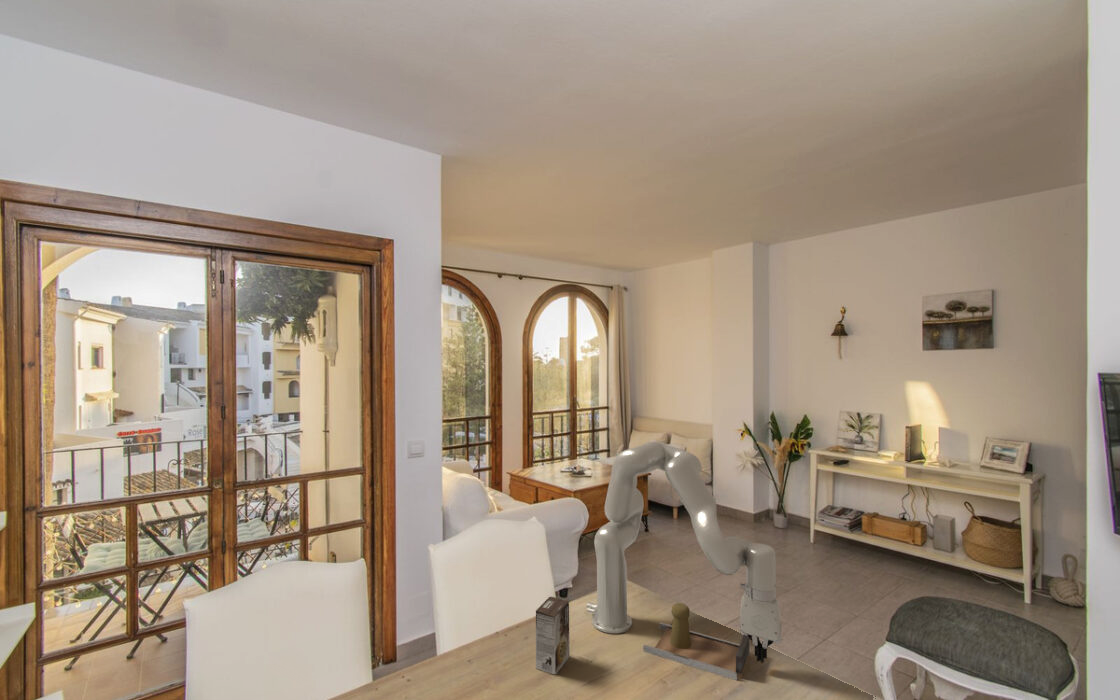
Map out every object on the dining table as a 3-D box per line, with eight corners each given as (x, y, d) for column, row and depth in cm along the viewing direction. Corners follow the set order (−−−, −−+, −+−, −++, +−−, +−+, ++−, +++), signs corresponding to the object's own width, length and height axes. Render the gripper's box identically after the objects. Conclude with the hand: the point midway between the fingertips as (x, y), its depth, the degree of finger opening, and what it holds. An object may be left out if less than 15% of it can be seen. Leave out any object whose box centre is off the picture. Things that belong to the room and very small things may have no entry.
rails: (643, 651, 146) (643, 645, 146) (659, 627, 159) (659, 622, 159) (736, 680, 133) (736, 674, 133) (746, 651, 146) (746, 646, 146)
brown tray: (654, 651, 146) (654, 632, 146) (667, 631, 156) (667, 613, 156) (741, 678, 134) (741, 657, 134) (749, 654, 144) (749, 635, 144)
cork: (691, 650, 144) (691, 611, 144) (670, 647, 146) (670, 609, 146) (690, 638, 150) (690, 601, 150) (669, 636, 152) (669, 599, 152)
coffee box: (550, 651, 146) (549, 595, 146) (570, 657, 143) (570, 600, 143) (534, 669, 138) (534, 609, 138) (555, 675, 135) (555, 615, 135)
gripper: (729, 591, 138) (729, 658, 137) (789, 604, 130) (789, 675, 130) (734, 580, 144) (734, 644, 144) (792, 592, 137) (792, 660, 137)
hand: (760, 659), depth 137 cm, fingers closed
